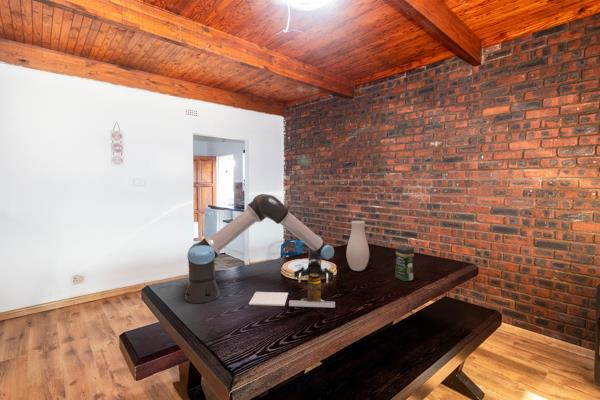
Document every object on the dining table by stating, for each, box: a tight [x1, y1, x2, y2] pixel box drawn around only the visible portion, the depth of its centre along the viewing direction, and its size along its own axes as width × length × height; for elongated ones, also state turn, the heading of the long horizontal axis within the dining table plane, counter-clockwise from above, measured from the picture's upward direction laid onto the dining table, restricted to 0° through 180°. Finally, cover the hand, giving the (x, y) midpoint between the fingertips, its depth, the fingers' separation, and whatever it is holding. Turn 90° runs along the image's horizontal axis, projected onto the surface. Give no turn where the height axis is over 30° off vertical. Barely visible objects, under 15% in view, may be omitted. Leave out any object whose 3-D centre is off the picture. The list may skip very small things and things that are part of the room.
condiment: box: [300, 273, 325, 301], centre depth 137 cm, size 7×8×12 cm
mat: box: [248, 291, 289, 307], centre depth 139 cm, size 16×14×1 cm
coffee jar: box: [394, 245, 415, 282], centre depth 166 cm, size 10×8×19 cm
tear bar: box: [288, 299, 336, 308], centre depth 131 cm, size 20×2×2 cm, turn 86°
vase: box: [345, 220, 370, 272], centre depth 183 cm, size 14×14×30 cm
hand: (313, 279), depth 146 cm, fingers open, 13 cm apart
